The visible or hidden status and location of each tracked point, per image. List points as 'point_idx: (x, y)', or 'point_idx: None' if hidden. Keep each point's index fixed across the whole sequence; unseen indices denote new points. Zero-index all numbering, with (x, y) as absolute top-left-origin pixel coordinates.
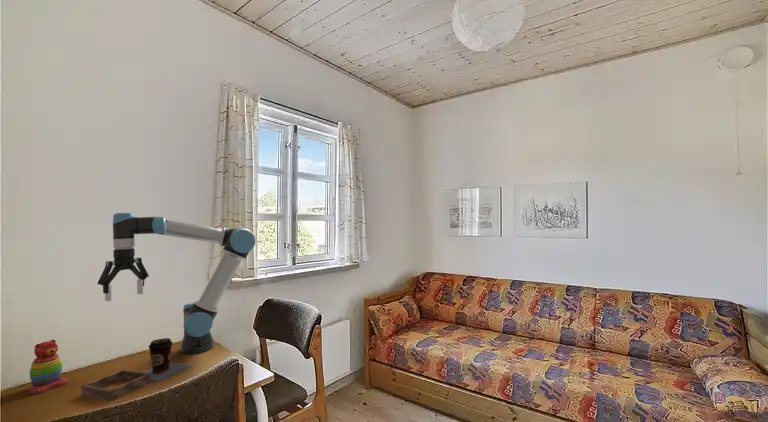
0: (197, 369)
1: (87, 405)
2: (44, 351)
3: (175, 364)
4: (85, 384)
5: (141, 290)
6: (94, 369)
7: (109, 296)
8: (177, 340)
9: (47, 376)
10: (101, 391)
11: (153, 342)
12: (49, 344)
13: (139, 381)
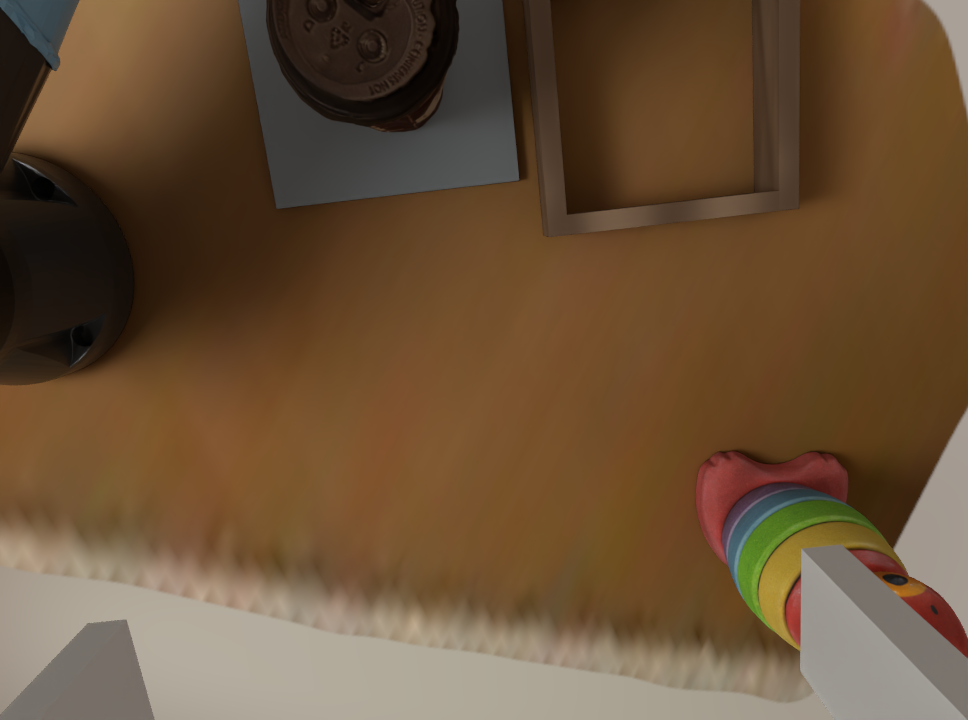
0: None
1: (837, 31)
2: (939, 595)
3: (283, 98)
4: (777, 210)
5: (64, 689)
6: (537, 535)
7: (909, 611)
8: (16, 561)
9: (825, 494)
10: (796, 10)
11: (417, 27)
12: None
13: None
